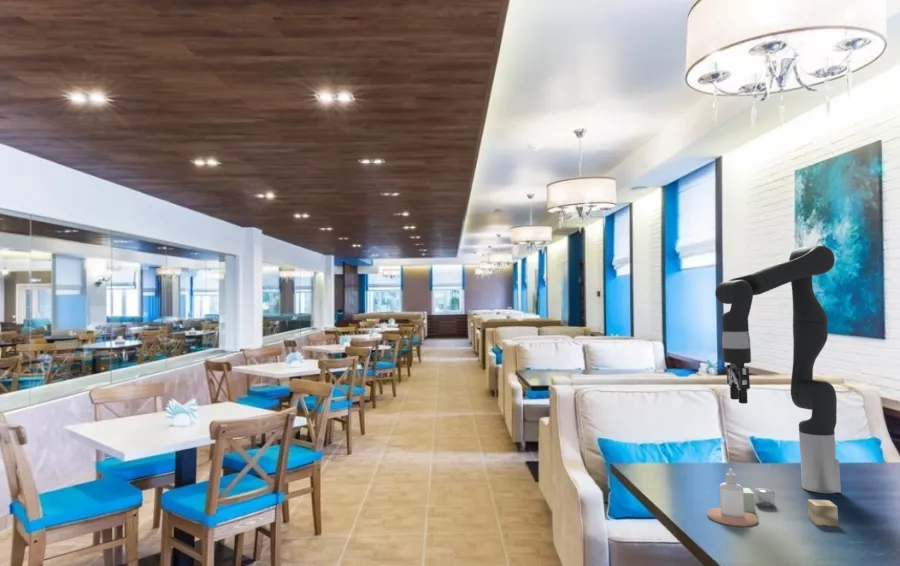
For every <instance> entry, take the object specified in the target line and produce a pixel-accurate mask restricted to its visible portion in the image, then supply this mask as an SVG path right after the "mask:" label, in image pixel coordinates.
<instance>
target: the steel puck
mask: <svg viewBox="0 0 900 566" xmlns="http://www.w3.org/2000/svg"><path fill="white" fill-rule="evenodd" d="M753 493H754V498H755V506H757V507H761V508H764V509H765V508H766V509H773V508H776V495H775V494H776V491H774V490H772V489H769V488H766V487H765V488H763V487H758V488H754V491H753Z"/></svg>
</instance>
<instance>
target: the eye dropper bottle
mask: <svg viewBox="0 0 900 566" xmlns="http://www.w3.org/2000/svg"><path fill="white" fill-rule="evenodd" d="M743 488H744V487H743V486H742V485H741V484H739V483H737V475H736V474H735V473H734V471H733V468H729V469H728V472H726V473H725V482H722V483H720V484H719V505H720V507H719V508H721V514H722V515H725V516H730V517H744V515H745V514H744V494H743Z"/></svg>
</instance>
